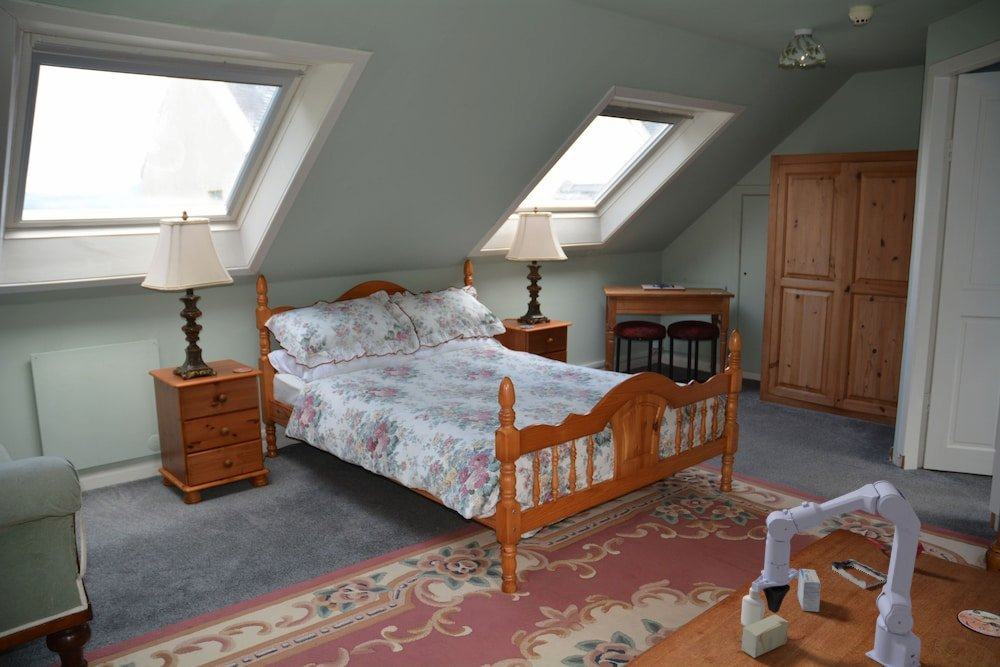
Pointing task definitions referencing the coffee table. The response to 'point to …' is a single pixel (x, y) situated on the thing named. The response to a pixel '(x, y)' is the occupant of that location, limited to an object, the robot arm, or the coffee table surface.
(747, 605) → the eye dropper bottle
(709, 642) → the coffee table surface
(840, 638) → the coffee table surface
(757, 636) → the skincare box
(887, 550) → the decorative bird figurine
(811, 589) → the medicine box
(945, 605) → the coffee table surface
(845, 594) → the coffee table surface
